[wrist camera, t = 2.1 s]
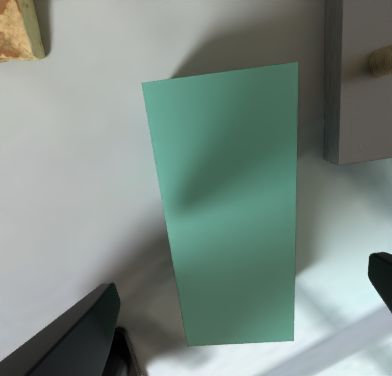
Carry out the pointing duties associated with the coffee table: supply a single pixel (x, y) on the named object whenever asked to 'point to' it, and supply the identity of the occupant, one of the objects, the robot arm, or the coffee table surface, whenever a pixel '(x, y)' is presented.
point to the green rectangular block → (230, 199)
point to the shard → (19, 31)
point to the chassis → (358, 81)
